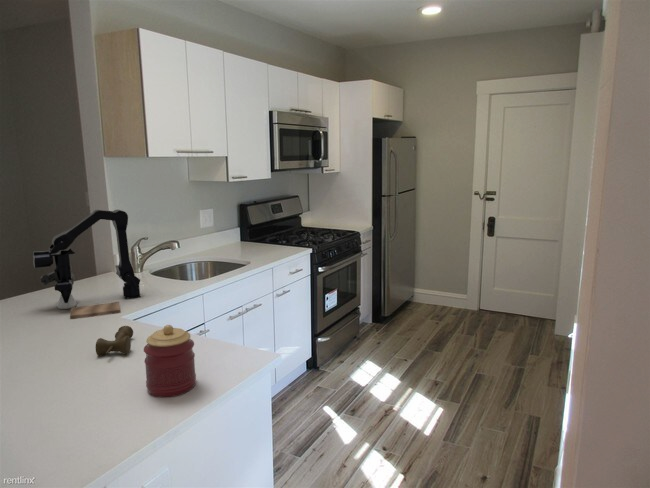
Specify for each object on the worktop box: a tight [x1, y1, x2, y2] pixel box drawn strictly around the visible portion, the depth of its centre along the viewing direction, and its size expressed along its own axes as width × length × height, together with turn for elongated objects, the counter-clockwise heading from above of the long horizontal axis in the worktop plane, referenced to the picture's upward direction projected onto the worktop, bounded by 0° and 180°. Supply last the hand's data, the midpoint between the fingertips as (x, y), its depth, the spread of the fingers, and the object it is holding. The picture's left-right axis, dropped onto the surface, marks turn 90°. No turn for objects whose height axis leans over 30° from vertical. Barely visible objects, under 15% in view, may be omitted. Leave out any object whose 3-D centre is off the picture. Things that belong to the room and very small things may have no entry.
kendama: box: [95, 325, 134, 357], centre depth 152 cm, size 6×10×20 cm
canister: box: [143, 324, 197, 398], centre depth 126 cm, size 13×13×18 cm
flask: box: [56, 293, 78, 310], centre depth 196 cm, size 7×7×10 cm
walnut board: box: [69, 301, 121, 320], centre depth 191 cm, size 18×12×1 cm, turn 116°
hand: (66, 301), depth 197 cm, fingers closed on flask, 5 cm apart
